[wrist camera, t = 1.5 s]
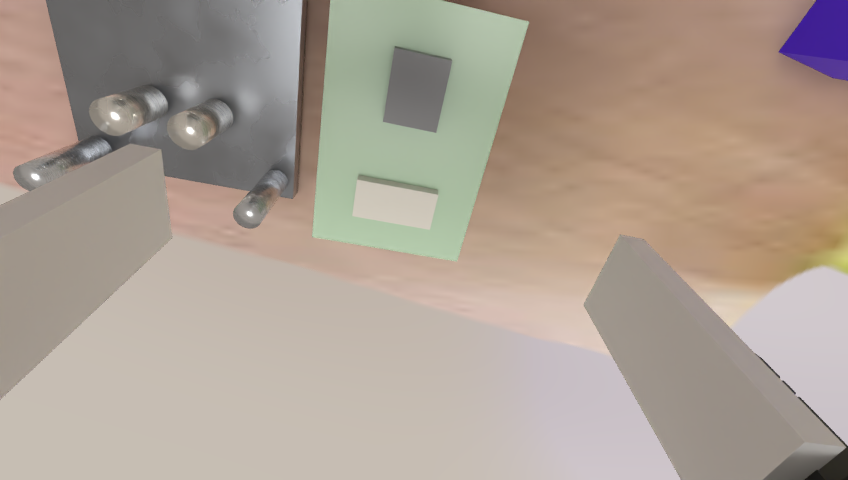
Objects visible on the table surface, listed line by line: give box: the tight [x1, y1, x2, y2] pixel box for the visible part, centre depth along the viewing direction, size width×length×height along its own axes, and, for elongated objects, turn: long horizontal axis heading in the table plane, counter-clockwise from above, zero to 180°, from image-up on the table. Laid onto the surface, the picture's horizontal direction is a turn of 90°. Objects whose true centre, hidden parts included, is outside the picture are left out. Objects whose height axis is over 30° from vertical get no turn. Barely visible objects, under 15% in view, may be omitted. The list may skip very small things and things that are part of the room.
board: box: [312, 0, 529, 261], centre depth 20 cm, size 12×8×4 cm, turn 168°
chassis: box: [13, 0, 307, 228], centre depth 22 cm, size 18×14×7 cm
